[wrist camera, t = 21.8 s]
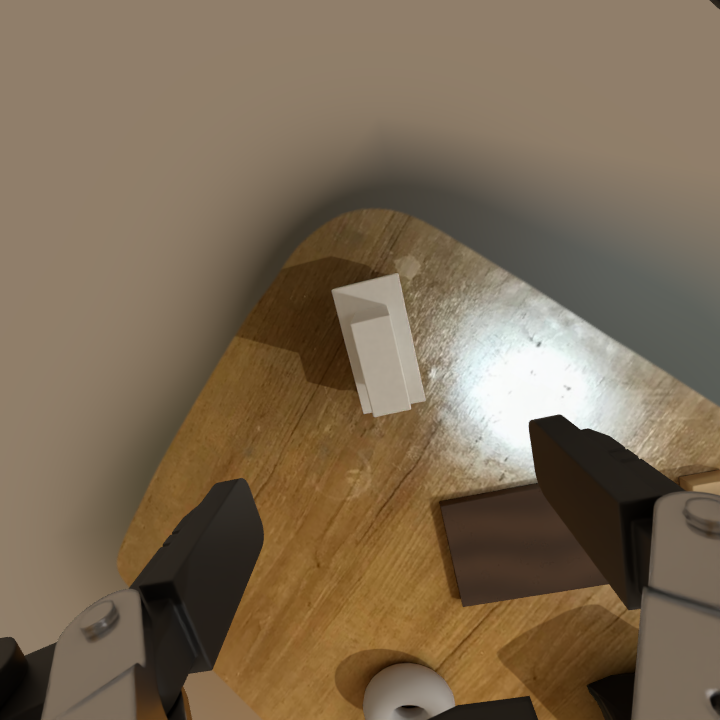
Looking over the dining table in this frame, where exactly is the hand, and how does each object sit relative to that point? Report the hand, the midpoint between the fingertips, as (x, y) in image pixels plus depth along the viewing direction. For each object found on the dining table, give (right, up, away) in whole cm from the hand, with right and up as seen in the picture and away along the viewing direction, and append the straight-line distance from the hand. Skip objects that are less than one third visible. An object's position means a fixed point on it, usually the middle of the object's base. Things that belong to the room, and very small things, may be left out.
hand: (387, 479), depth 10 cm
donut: (+5, -34, +31) cm, 46 cm away
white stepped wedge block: (+1, +5, +21) cm, 22 cm away
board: (+16, -14, +25) cm, 33 cm away
